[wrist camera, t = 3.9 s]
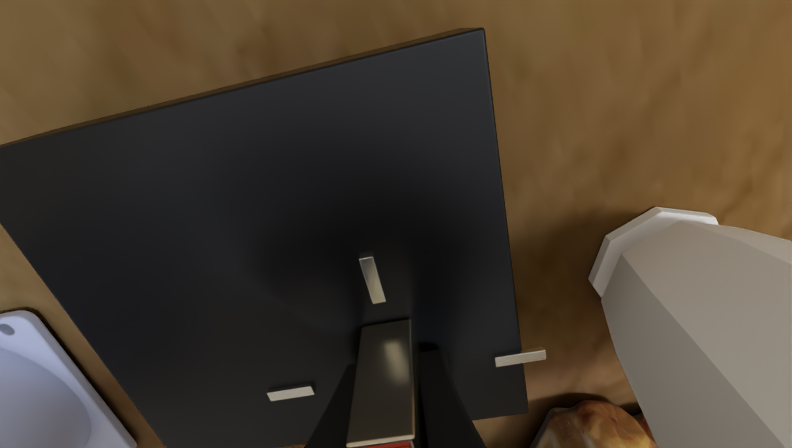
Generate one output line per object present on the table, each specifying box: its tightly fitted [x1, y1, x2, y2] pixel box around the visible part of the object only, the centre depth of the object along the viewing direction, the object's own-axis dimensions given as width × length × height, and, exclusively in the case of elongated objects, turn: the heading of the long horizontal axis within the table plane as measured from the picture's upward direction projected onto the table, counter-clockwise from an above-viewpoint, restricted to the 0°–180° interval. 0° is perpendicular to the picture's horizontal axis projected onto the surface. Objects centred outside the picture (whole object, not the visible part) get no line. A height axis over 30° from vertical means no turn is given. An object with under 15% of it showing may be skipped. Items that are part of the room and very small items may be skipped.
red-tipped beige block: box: [346, 319, 428, 448], centre depth 10 cm, size 4×1×4 cm, turn 13°
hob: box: [0, 28, 546, 448], centre depth 12 cm, size 13×13×3 cm
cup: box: [588, 207, 792, 448], centre depth 10 cm, size 7×10×8 cm
